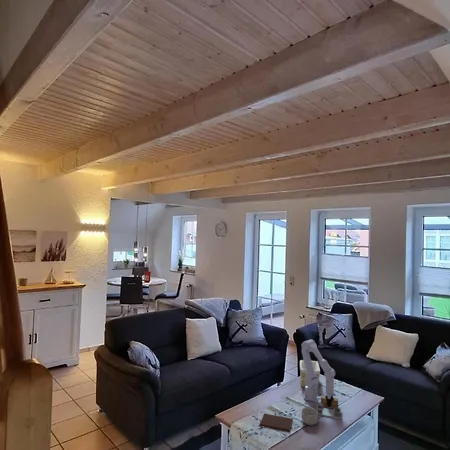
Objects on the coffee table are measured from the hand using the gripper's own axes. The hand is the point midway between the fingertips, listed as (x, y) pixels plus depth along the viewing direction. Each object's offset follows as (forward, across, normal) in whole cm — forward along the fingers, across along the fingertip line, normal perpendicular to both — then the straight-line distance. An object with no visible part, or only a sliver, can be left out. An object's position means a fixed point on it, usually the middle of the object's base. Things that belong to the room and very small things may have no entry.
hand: (329, 404), depth 256 cm
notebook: (+2, -37, +32) cm, 49 cm away
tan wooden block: (+2, 0, 0) cm, 2 cm away
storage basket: (+2, +37, +19) cm, 42 cm away
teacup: (+2, -27, +11) cm, 29 cm away
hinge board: (+1, -11, 0) cm, 11 cm away
